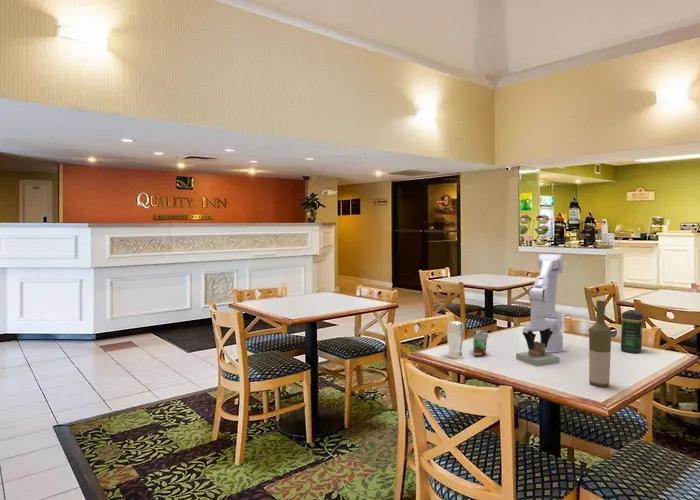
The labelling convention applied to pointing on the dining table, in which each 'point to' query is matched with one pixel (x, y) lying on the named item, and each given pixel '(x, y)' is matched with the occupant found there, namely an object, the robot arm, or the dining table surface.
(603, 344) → the bottle
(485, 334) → the food container
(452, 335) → the beer glass
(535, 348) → the walnut block
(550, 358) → the grey platform
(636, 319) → the coffee jar
